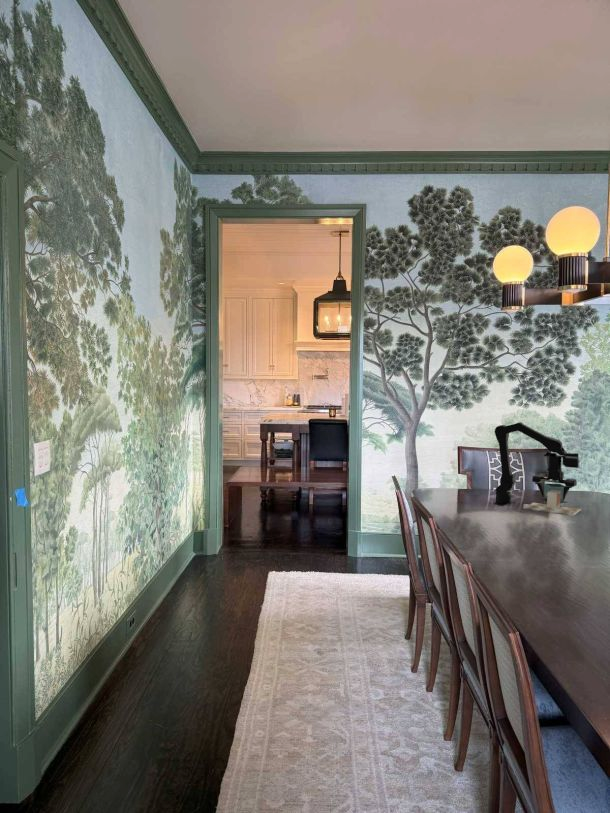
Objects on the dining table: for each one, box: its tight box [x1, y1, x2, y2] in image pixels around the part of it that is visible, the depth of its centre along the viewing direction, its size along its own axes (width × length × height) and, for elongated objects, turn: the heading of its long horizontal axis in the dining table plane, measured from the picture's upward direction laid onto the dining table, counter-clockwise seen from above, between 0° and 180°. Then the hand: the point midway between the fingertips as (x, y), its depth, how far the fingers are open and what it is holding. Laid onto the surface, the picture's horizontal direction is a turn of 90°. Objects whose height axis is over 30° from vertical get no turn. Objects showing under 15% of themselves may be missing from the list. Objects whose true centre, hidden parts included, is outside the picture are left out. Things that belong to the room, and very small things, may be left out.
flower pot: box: [544, 482, 565, 503], centre depth 278 cm, size 9×9×9 cm
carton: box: [546, 490, 561, 509], centre depth 261 cm, size 4×7×8 cm, turn 141°
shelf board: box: [523, 502, 582, 517], centre depth 260 cm, size 22×16×3 cm
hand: (553, 498), depth 261 cm, fingers open, 9 cm apart
